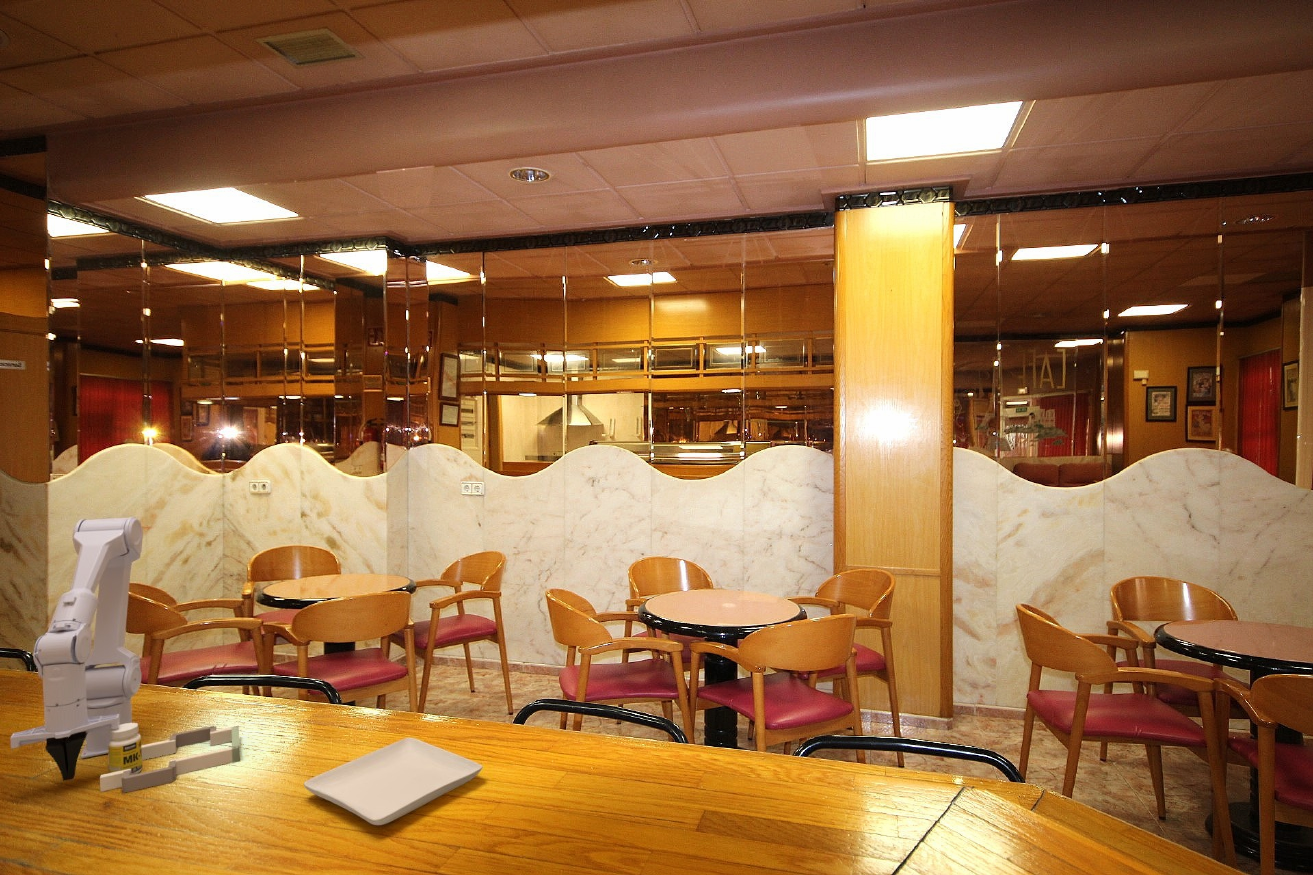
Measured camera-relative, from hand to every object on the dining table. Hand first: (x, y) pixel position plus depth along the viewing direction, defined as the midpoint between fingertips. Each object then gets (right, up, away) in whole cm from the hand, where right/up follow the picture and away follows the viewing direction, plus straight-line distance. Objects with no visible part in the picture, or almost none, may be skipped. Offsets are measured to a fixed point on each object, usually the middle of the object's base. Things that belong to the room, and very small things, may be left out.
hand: (69, 777), depth 127 cm
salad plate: (+58, -1, -3) cm, 58 cm away
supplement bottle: (+7, -1, +4) cm, 8 cm away
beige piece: (+13, -1, +8) cm, 15 cm away
